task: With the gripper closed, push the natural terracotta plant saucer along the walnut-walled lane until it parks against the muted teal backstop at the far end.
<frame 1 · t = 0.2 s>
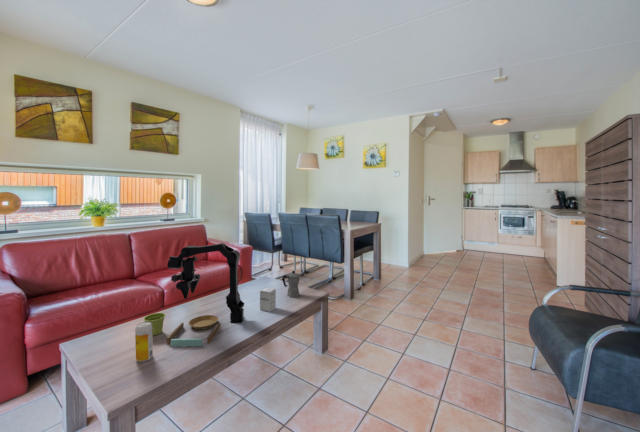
hand: (189, 295, 153), 14 cm above the table, fingers open, 9 cm apart
supplement box: (267, 309, 172), on the table
plant pot: (155, 333, 139), on the table
plant saucer: (203, 325, 149), on the table
lane walls: (194, 335, 137), on the table
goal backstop: (186, 345, 127), on the table
coffeepot: (291, 295, 196), on the table
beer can: (144, 359, 117), on the table
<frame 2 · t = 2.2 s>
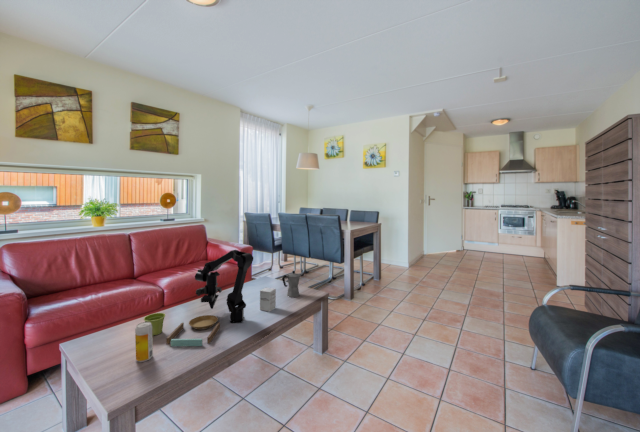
hand: (211, 308, 161), 4 cm above the table, fingers closed
nothing on the table moved.
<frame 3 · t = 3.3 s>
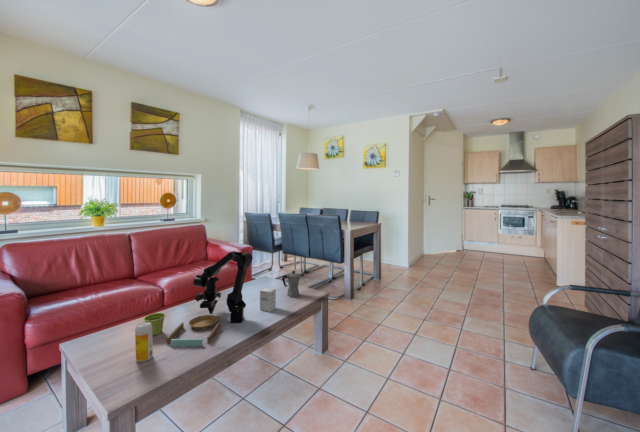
hand: (211, 314, 160), 1 cm above the table, fingers closed
nothing on the table moved.
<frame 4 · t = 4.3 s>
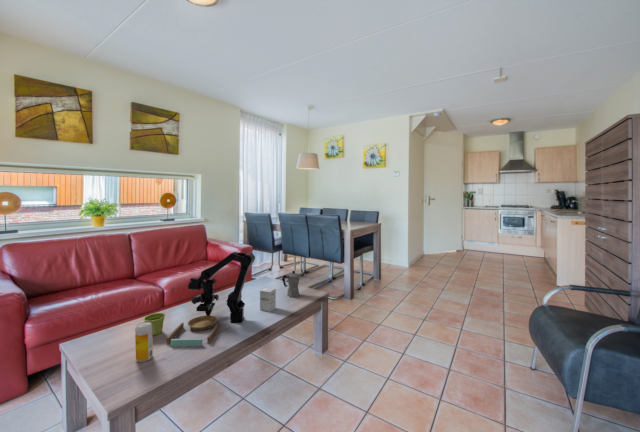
hand: (208, 317, 156), 1 cm above the table, fingers closed
plant saucer: (202, 326, 148), on the table
everything else where it was.
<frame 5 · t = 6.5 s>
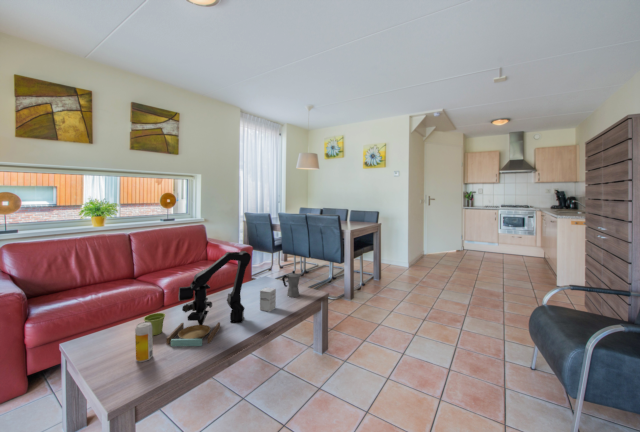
hand: (200, 326, 145), 1 cm above the table, fingers closed
plant saucer: (194, 336, 136), on the table, touching gripper
everything else where it was.
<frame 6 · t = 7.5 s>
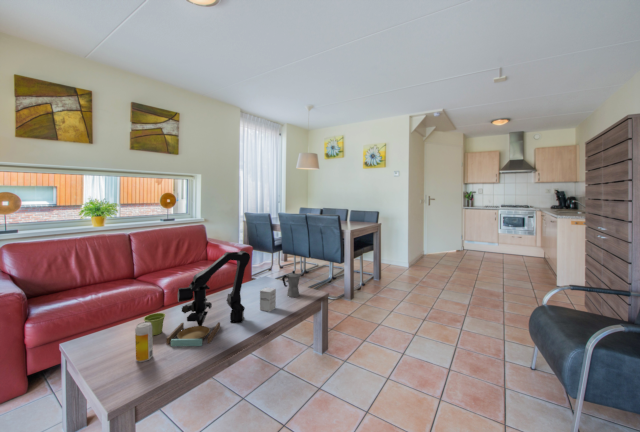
hand: (200, 327, 144), 1 cm above the table, fingers closed
plant saucer: (193, 337, 135), on the table
everything else where it was.
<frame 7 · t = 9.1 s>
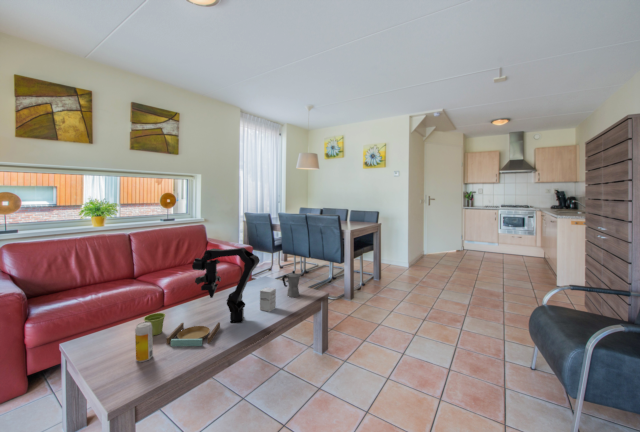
hand: (211, 297, 157), 12 cm above the table, fingers closed
nothing on the table moved.
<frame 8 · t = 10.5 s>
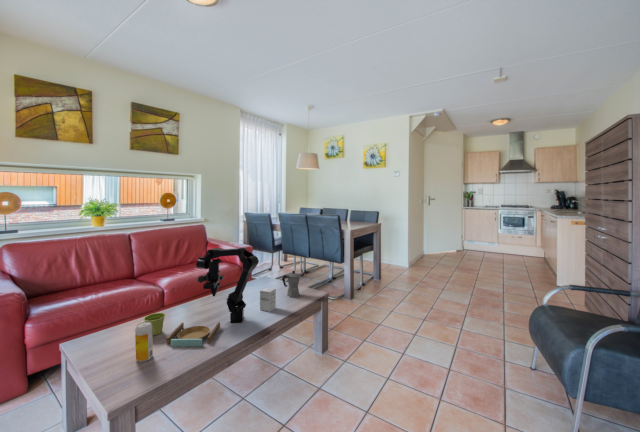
hand: (214, 296, 159), 12 cm above the table, fingers closed
nothing on the table moved.
at the end: plant saucer inside the target area (0.1 cm from its centre), on the table; plant saucer moved 13.4 cm from its start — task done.
